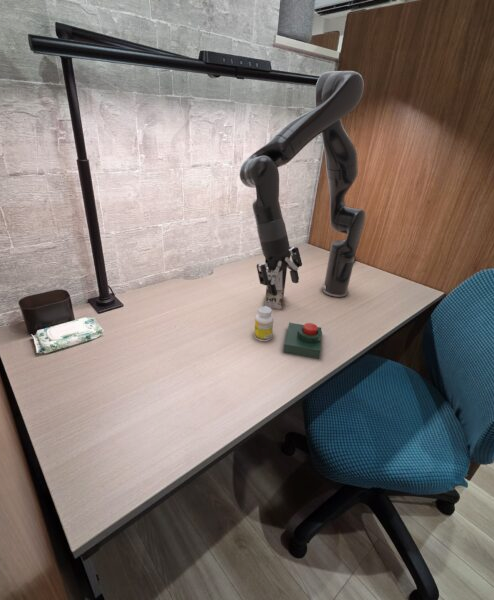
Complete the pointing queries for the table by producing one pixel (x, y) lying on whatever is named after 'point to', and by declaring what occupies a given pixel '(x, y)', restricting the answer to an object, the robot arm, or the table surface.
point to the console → (302, 342)
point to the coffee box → (280, 287)
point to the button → (310, 329)
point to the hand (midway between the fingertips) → (285, 288)
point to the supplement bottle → (264, 324)
